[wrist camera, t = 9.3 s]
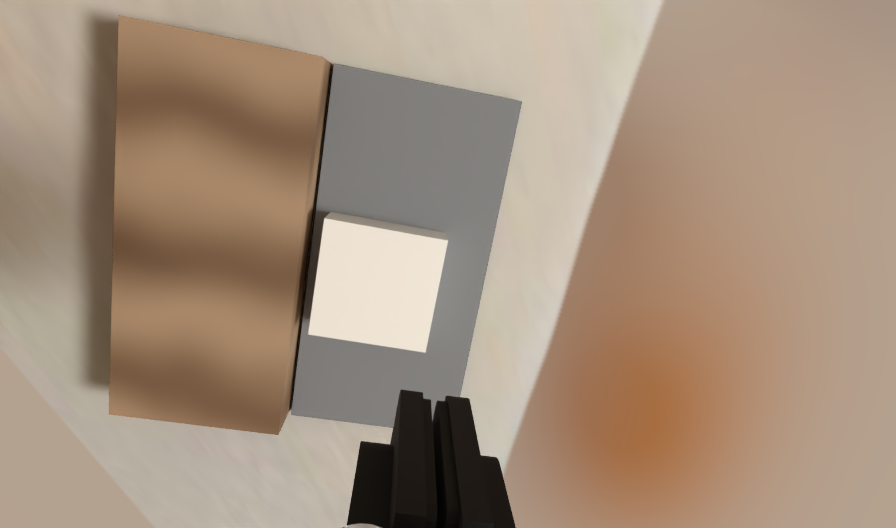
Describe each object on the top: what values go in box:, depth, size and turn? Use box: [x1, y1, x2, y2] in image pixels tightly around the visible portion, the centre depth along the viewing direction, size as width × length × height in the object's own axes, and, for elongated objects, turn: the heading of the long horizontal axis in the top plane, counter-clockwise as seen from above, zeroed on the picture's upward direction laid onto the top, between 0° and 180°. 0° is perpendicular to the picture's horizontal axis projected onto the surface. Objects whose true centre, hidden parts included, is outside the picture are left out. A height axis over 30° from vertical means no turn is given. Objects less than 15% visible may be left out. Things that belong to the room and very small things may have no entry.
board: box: [109, 16, 331, 435], centre depth 25 cm, size 19×8×2 cm, turn 170°
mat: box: [291, 64, 522, 428], centre depth 27 cm, size 19×9×1 cm, turn 170°
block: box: [308, 212, 448, 353], centre depth 26 cm, size 6×6×2 cm
